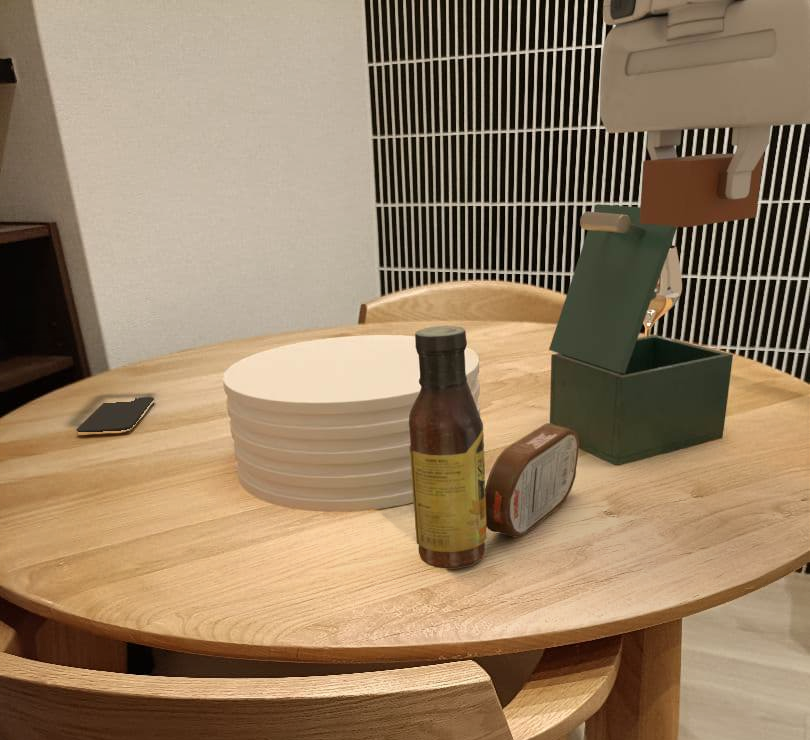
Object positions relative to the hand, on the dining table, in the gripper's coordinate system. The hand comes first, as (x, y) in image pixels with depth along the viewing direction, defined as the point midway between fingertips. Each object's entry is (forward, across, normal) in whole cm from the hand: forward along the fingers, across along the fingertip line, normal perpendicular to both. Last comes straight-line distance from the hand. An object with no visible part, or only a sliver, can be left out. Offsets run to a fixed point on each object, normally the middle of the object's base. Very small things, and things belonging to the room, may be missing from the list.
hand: (699, 196), depth 62 cm
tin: (+28, +9, +9) cm, 31 cm away
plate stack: (+28, +33, +16) cm, 46 cm away
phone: (+28, +68, +38) cm, 83 cm away
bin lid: (+11, +22, -10) cm, 26 cm away
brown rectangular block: (+2, 0, 0) cm, 2 cm away
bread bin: (+28, +22, -14) cm, 39 cm away
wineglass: (+29, +41, -32) cm, 59 cm away
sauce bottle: (+28, +7, +19) cm, 35 cm away
